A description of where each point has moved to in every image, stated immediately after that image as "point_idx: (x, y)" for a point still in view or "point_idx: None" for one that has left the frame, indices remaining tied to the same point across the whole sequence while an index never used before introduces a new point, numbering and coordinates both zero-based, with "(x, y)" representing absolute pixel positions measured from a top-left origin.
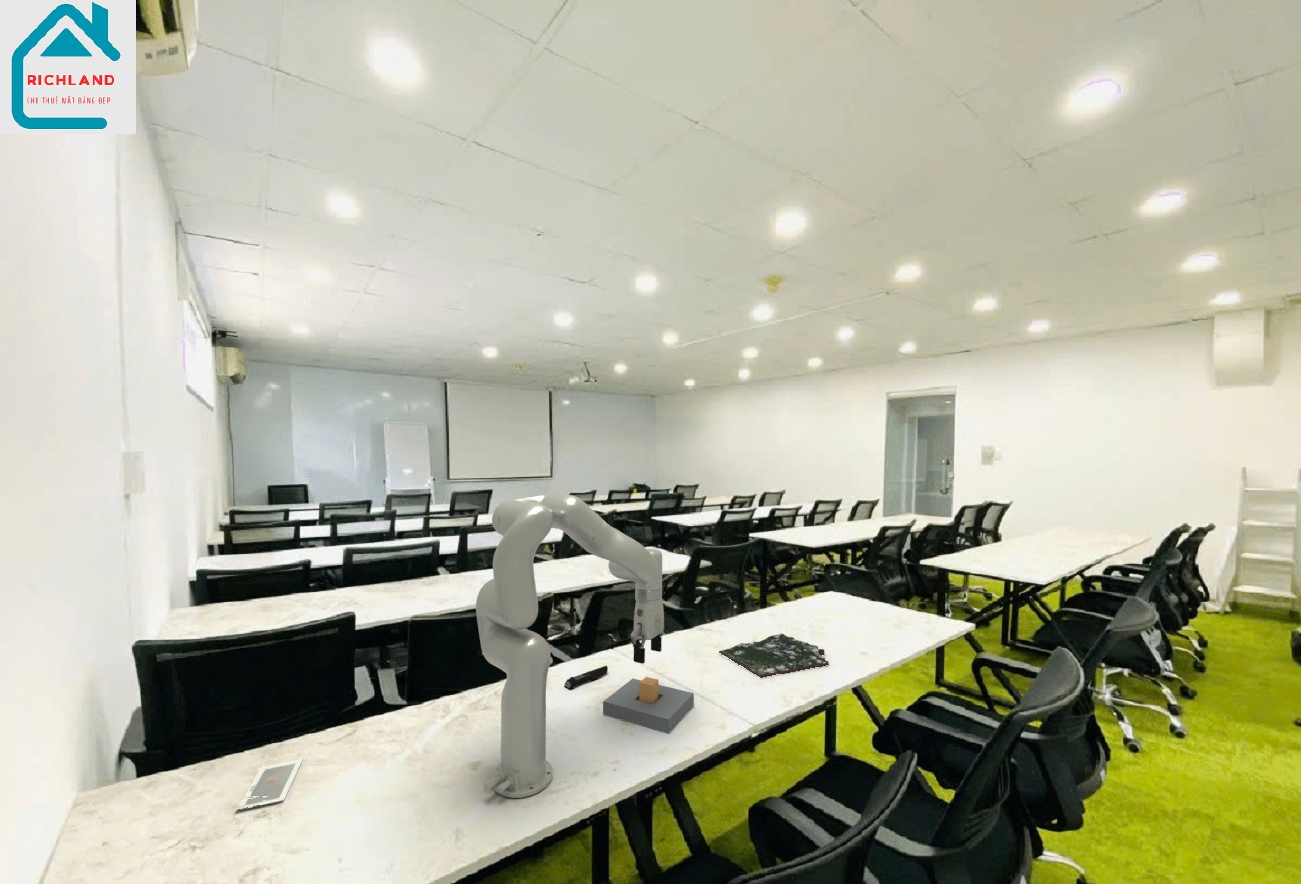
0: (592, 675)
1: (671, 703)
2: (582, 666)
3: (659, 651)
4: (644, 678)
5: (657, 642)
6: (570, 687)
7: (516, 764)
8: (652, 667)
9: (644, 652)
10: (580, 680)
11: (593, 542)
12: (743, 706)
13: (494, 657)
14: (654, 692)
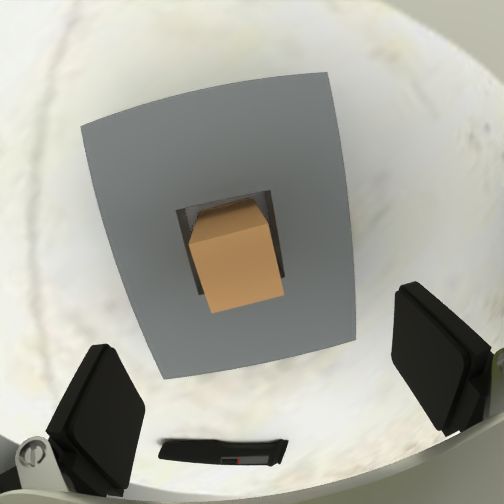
0: (215, 452)
1: (213, 134)
2: (183, 478)
3: (112, 349)
4: (229, 307)
5: (100, 419)
6: (287, 444)
7: None
8: (43, 383)
9: (459, 328)
10: (257, 452)
11: None
12: (24, 29)
13: None
14: (239, 218)
